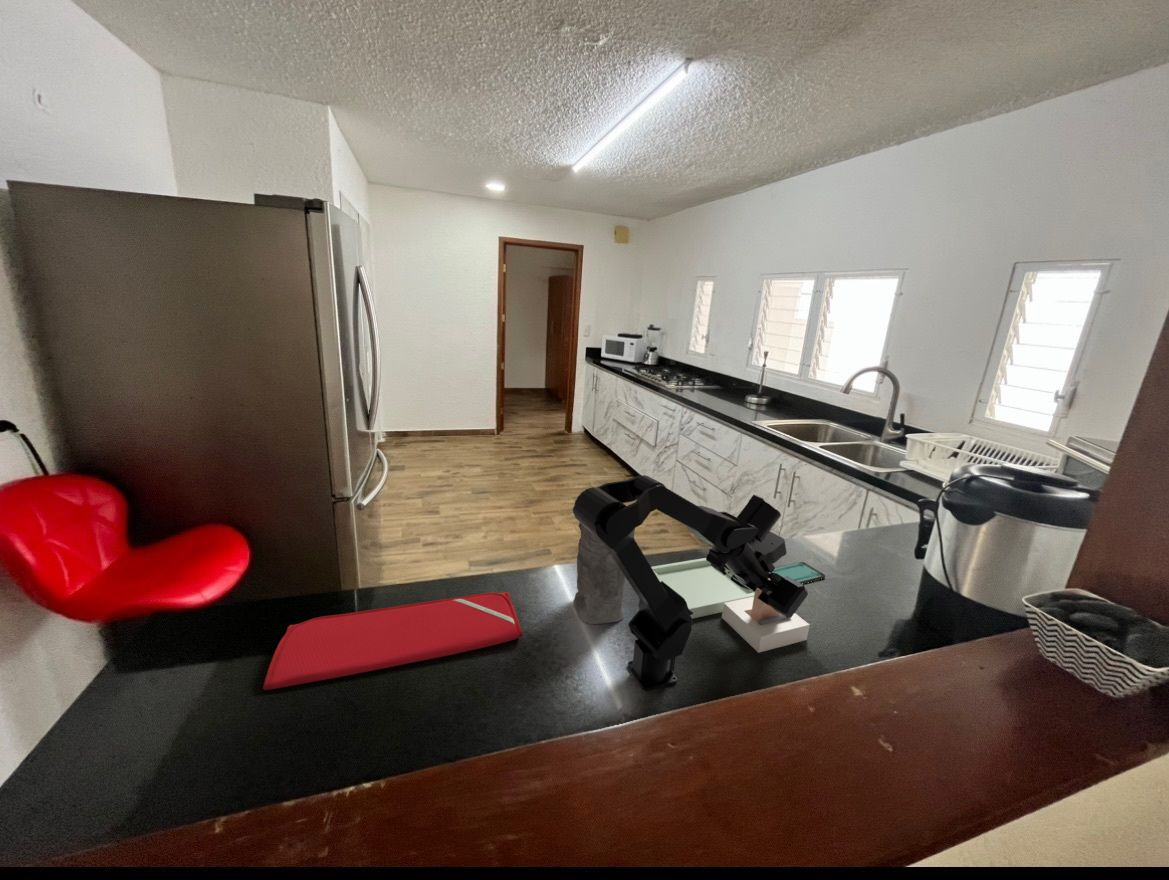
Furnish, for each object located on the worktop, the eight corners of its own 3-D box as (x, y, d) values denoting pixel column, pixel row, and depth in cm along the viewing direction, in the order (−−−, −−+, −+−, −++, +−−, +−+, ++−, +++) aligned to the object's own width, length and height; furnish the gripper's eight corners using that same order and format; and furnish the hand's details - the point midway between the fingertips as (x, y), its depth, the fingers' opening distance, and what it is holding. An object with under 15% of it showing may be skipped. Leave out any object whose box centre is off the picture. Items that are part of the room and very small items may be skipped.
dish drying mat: (289, 631, 86) (287, 614, 85) (508, 599, 99) (508, 584, 99) (263, 696, 72) (260, 676, 71) (523, 648, 85) (523, 630, 84)
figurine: (608, 587, 105) (616, 484, 99) (630, 626, 92) (641, 511, 85) (567, 591, 102) (572, 486, 96) (583, 633, 89) (591, 514, 83)
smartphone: (759, 570, 114) (802, 560, 120) (758, 575, 114) (802, 565, 120) (782, 586, 108) (827, 575, 114) (781, 591, 108) (826, 579, 114)
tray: (685, 620, 95) (686, 609, 94) (645, 576, 110) (646, 567, 109) (761, 603, 102) (763, 593, 101) (714, 564, 117) (716, 556, 117)
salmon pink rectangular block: (758, 634, 92) (766, 585, 89) (748, 626, 94) (756, 578, 91) (776, 628, 94) (785, 580, 91) (767, 621, 96) (775, 574, 93)
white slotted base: (758, 652, 86) (762, 632, 85) (721, 617, 96) (724, 598, 95) (806, 639, 91) (810, 620, 90) (766, 607, 101) (770, 589, 100)
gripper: (811, 546, 78) (838, 588, 86) (728, 505, 93) (757, 544, 101) (772, 598, 76) (803, 636, 84) (694, 548, 91) (727, 584, 100)
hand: (771, 596), depth 92 cm, fingers closed on salmon pink rectangular block, 3 cm apart
